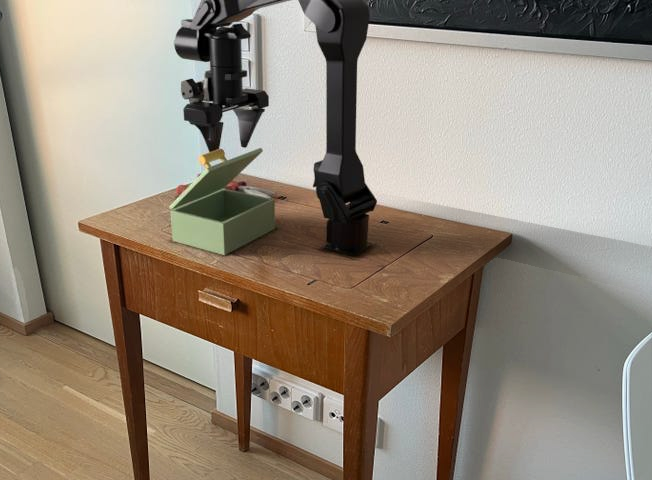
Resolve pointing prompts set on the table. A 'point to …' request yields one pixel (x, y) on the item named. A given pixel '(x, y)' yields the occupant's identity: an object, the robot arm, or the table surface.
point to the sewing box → (223, 220)
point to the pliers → (236, 189)
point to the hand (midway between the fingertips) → (229, 152)
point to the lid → (215, 175)
